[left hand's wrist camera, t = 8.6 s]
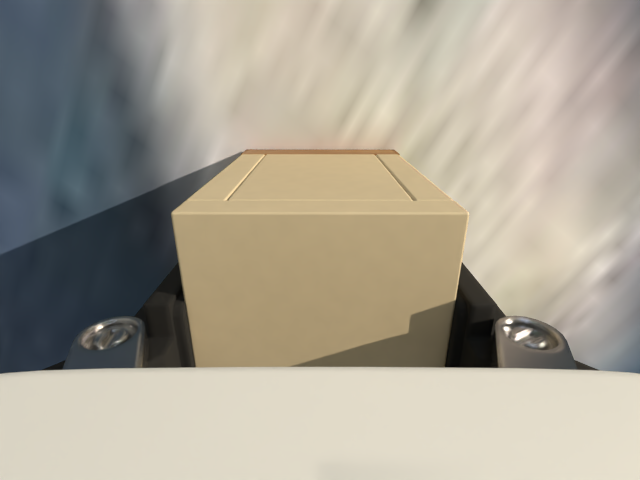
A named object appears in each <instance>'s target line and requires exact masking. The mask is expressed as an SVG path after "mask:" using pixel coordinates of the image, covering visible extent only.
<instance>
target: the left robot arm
mask: <svg viewBox="0 0 640 480" xmlns="http://www.w3.org/2000/svg"><path fill="white" fill-rule="evenodd" d="M0 480H640V374H636V373H627V372H611V371H600V370H597V369H595V368H592V367H590V366H587V365H585V364H583V363H580V362H578V361H575V360H574V358H573V356H572V353H571V351H570V348H569V345H568V343H567V341H566V339H565V337H564V336H563V335H562V334H561V333H560V332H559V331H558V330H557V329H555V328H554V327H552V326H550V325H548V324H547V323H544V322H541V321H539V320H536V319H532V318H528V317H523V316H505V315H504V313H503V312H502V311H501V310H500V308H499V307H498V306H497V304H496V303H495V302H494V301H493V299H492V298H491V297H490V296H489V295H488V293H487V292H486V291H485V290H484V289H483V287H482V286H481V285H480V284H479V282H478V281H477V280H476V279H475V278H474V276H473V275H472V274H471V273H470V271H469V270H468V269H467V268H466V267H465V265H464V264H463V263H461V269H460V276H459V282H458V288H457V294H456V301H455V307H454V313H453V320H452V326H451V332H450V339H449V345H448V351H447V357H446V364H445V368H439V367H196V368H195V362H194V355H193V349H192V342H191V336H190V330H189V323H188V317H187V311H186V304H185V300H184V294H183V287H182V281H181V275H180V268H179V262H178V264H177V265H176V266H175V267H174V268H173V270H172V271H171V272H170V273H169V274H168V276H167V277H166V278H165V279H164V281H163V282H162V283H161V284H160V285H159V287H158V288H157V289H156V290H155V291H154V293H153V294H152V295H151V296H150V298H149V299H148V300H147V301H146V302H145V304H144V305H143V307H142V308H141V309H140V310H139V311H138V313H137V314H136V315H135V316H117V317H112V318H108V319H104V320H101V321H99V322H96V323H93V324H92V325H90V326H88V327H86V328H85V329H83V330H82V331H81V332H80V333H79V334H78V335H77V336H76V337H75V339H74V341H73V343H72V345H71V348H70V351H69V353H68V356H67V358H66V360H65V361H63V362H60V363H58V364H55V365H53V366H50V367H48V368H46V369H43V370H41V371H28V372H15V373H3V374H0Z"/></svg>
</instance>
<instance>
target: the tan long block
mask: <svg viewBox="0 0 640 480" xmlns="http://www.w3.org/2000/svg"><path fill="white" fill-rule="evenodd" d="M171 218H172V224H173V230H174V237H175V243H176V249H177V256H178V262H179V268H180V275H181V281H182V287H183V294H184V300H185V304H186V311H187V317H188V323H189V330H190V336H191V342H192V349H193V355H194V362H195V368H196V367H439V368H445V364H446V357H447V351H448V345H449V339H450V332H451V326H452V320H453V313H454V307H455V301H456V294H457V288H458V282H459V276H460V269H461V263H462V257H463V250H464V244H465V238H466V231H467V225H468V219H469V212H468V211H466V210H465V209H464V208H463V207H461V206H460V205H459V204H458V203H457V202H455V201H453V200H452V199H451V198H450V197H449V196H448V195H446V194H445V193H444V192H443V191H442V190H440V189H439V188H438V187H437V186H436V185H434V184H433V183H432V182H431V181H430V180H428V179H427V178H426V177H425V176H423V175H422V174H421V173H420V172H419V171H417V170H416V169H415V168H414V167H413V166H411V165H410V164H409V163H408V162H407V161H405V160H404V159H403V158H402V157H401V156H399V153H397V152H396V151H395V150H246V151H244V152H243V153H242V154H241V156H239V157H238V158H237V159H236V160H235V161H233V162H232V163H231V164H230V165H228V166H227V167H226V168H225V169H224V170H222V171H221V172H220V173H219V174H217V175H216V176H215V177H214V178H213V179H211V180H210V181H209V182H208V183H206V184H205V185H204V186H203V187H202V188H200V189H199V190H198V191H197V192H195V193H194V194H193V195H192V196H191V197H189V198H188V199H187V200H186V201H185V202H183V203H182V204H181V205H180V206H178V207H177V208H176V209H175V210H174V211H172V212H171Z"/></svg>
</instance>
